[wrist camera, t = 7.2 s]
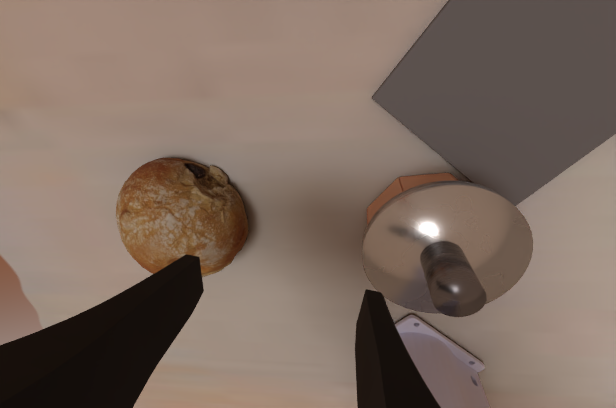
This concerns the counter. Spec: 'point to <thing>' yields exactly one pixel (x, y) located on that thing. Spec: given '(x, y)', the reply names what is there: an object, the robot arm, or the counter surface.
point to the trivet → (510, 88)
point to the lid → (446, 247)
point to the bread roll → (181, 215)
